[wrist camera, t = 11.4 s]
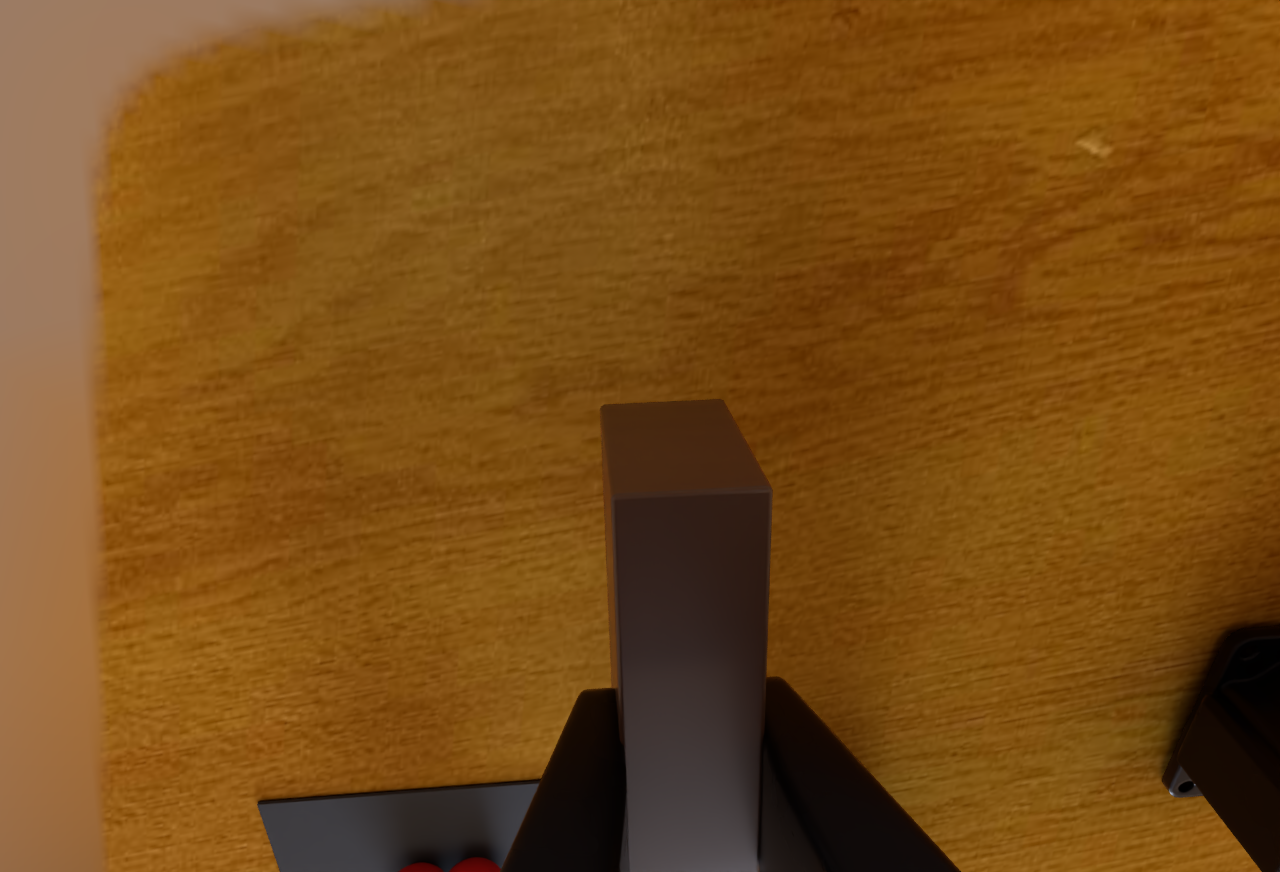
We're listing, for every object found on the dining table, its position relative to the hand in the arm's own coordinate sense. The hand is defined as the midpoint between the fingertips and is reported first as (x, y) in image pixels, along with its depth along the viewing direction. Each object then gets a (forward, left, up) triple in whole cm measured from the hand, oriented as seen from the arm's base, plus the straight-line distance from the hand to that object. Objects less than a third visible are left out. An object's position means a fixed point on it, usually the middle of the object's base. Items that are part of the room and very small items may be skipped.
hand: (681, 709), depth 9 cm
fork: (0, +4, -1) cm, 4 cm away
